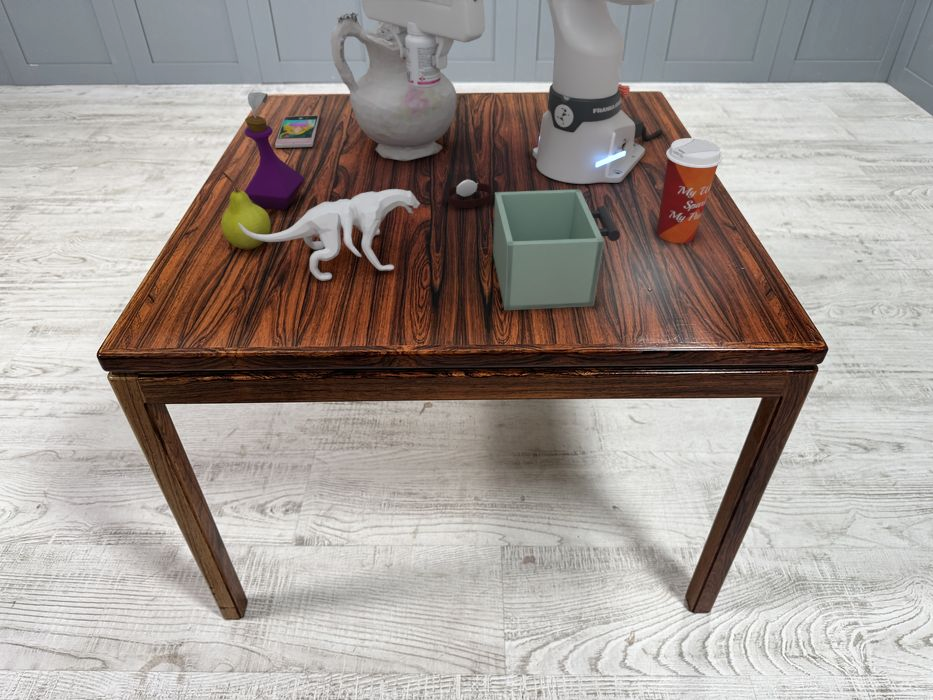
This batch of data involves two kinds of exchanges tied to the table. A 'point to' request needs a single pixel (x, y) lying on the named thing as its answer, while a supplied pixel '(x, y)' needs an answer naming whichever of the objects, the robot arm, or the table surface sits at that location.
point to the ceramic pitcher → (392, 95)
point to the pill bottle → (420, 58)
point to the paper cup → (686, 187)
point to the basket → (548, 248)
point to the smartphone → (297, 131)
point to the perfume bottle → (269, 165)
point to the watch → (468, 194)
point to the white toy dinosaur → (343, 225)
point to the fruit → (244, 220)
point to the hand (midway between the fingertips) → (423, 63)
